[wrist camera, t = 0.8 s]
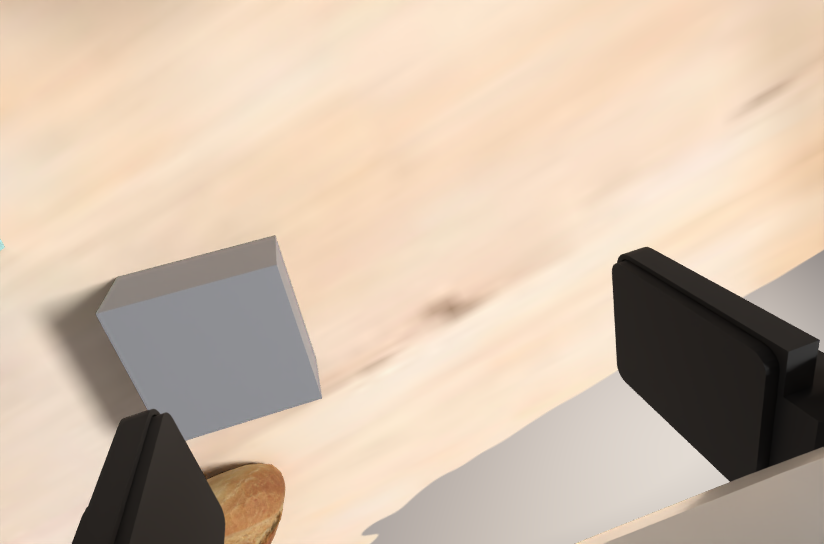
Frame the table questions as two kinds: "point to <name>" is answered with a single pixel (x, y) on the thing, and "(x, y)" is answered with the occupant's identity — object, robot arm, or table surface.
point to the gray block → (213, 337)
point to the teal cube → (1, 245)
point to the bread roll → (250, 502)
